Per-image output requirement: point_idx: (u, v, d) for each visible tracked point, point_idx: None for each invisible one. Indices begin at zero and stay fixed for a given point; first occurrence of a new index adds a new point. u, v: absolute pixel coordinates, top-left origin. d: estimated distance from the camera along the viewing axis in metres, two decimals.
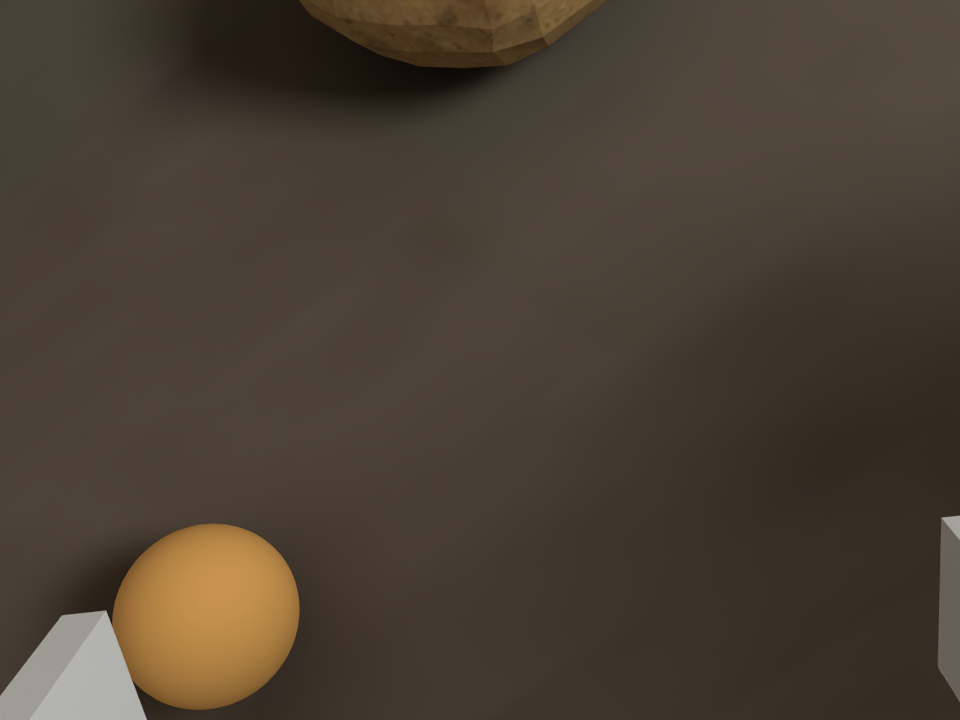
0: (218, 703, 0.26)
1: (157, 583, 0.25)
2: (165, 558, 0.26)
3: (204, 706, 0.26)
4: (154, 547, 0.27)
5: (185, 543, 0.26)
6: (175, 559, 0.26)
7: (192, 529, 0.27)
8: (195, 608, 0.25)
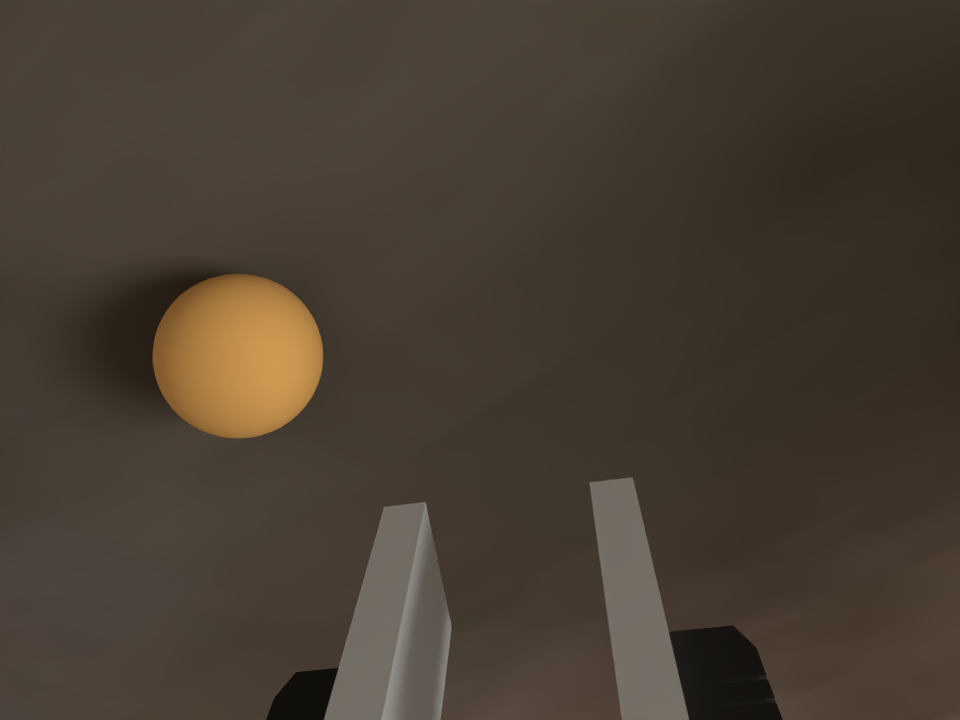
0: None
1: (195, 358, 0.27)
2: (195, 333, 0.27)
3: None
4: (178, 316, 0.28)
5: (209, 315, 0.28)
6: (206, 334, 0.27)
7: (210, 294, 0.28)
8: (237, 379, 0.27)
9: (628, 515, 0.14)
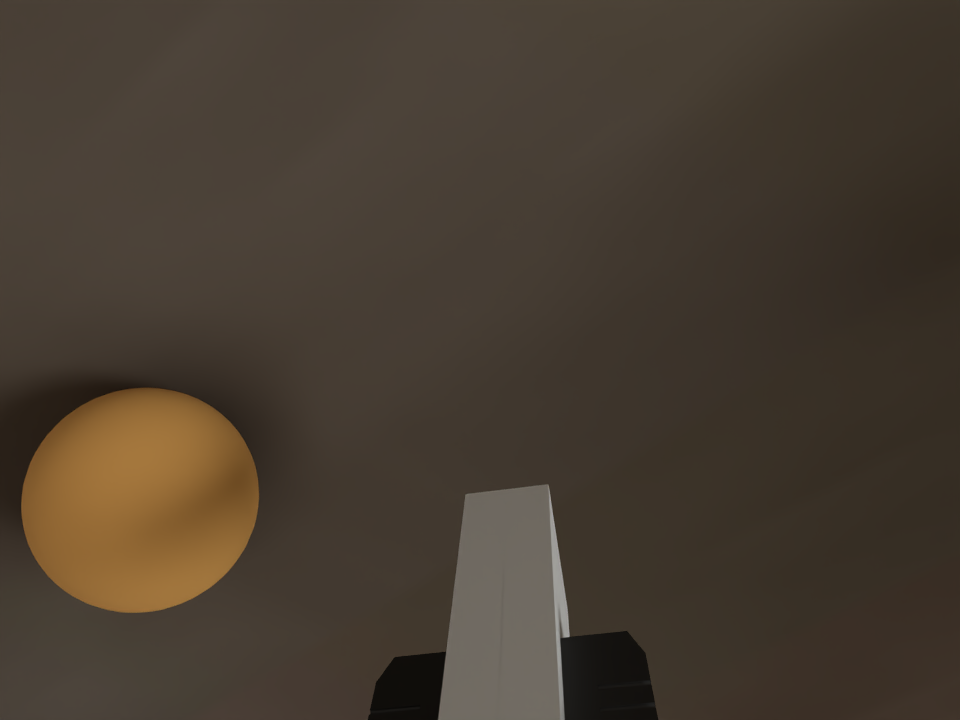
0: None
1: (70, 518, 0.20)
2: (71, 482, 0.20)
3: None
4: (51, 455, 0.20)
5: (92, 456, 0.20)
6: (85, 485, 0.20)
7: (96, 425, 0.20)
8: (129, 547, 0.20)
9: (537, 522, 0.15)
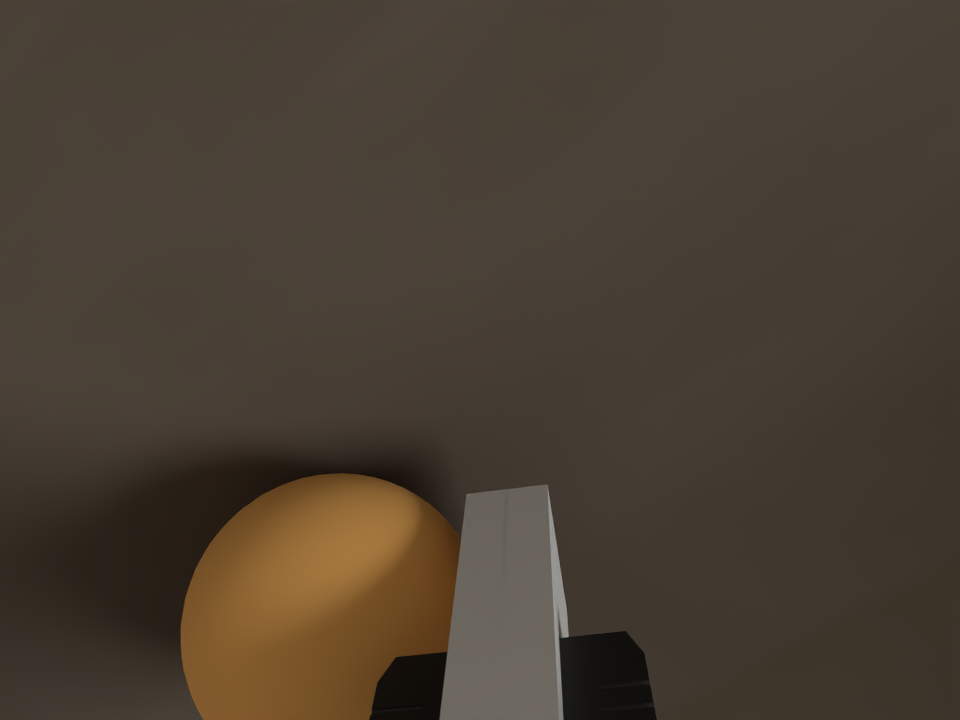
0: None
1: (253, 678, 0.14)
2: (254, 625, 0.14)
3: None
4: (223, 582, 0.15)
5: (280, 587, 0.14)
6: (274, 630, 0.14)
7: (282, 539, 0.15)
8: (336, 718, 0.14)
9: (537, 522, 0.15)
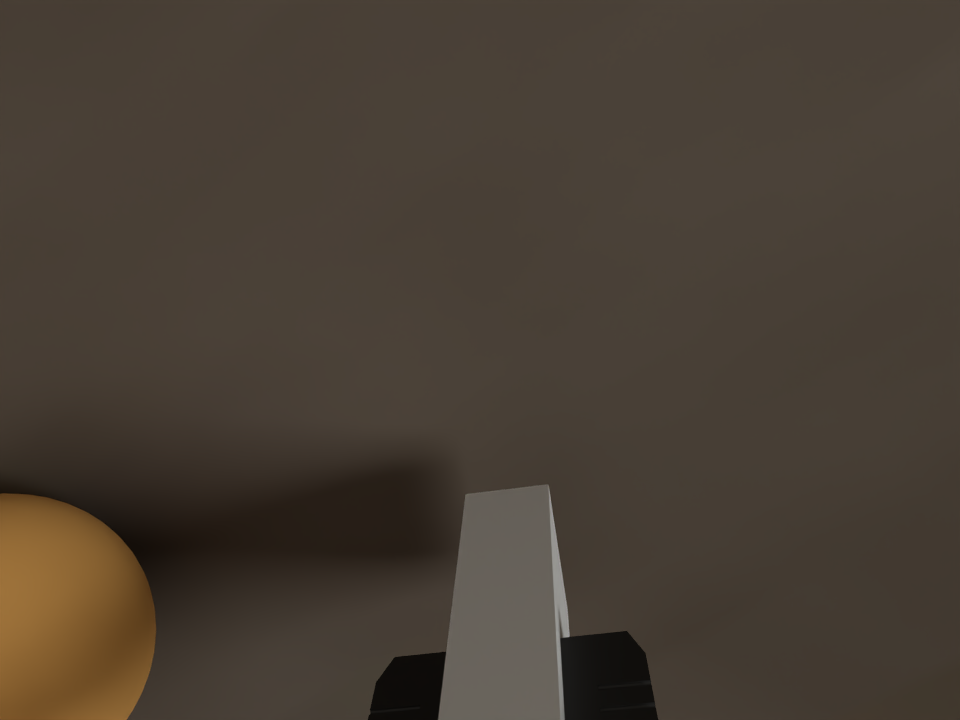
0: None
1: (115, 552, 0.17)
2: (79, 528, 0.16)
3: None
4: (28, 542, 0.15)
5: (50, 508, 0.16)
6: (84, 522, 0.17)
7: None
8: None
9: (538, 522, 0.15)
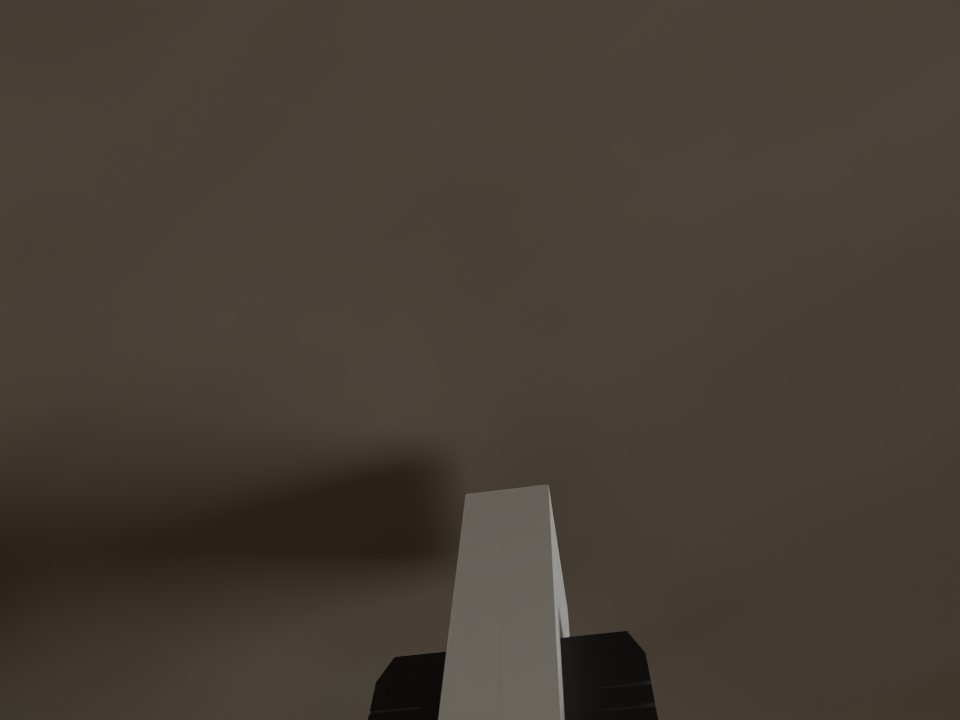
0: None
1: None
2: None
3: None
4: None
5: None
6: None
7: None
8: None
9: (538, 522, 0.15)
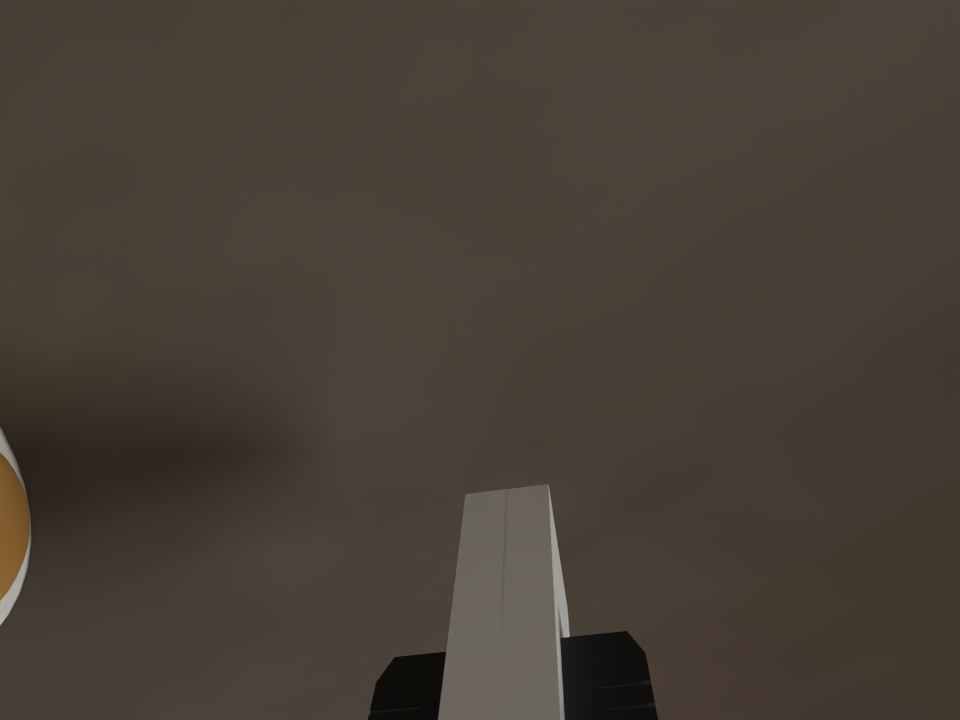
0: None
1: None
2: None
3: None
4: None
5: None
6: None
7: None
8: None
9: (537, 522, 0.15)
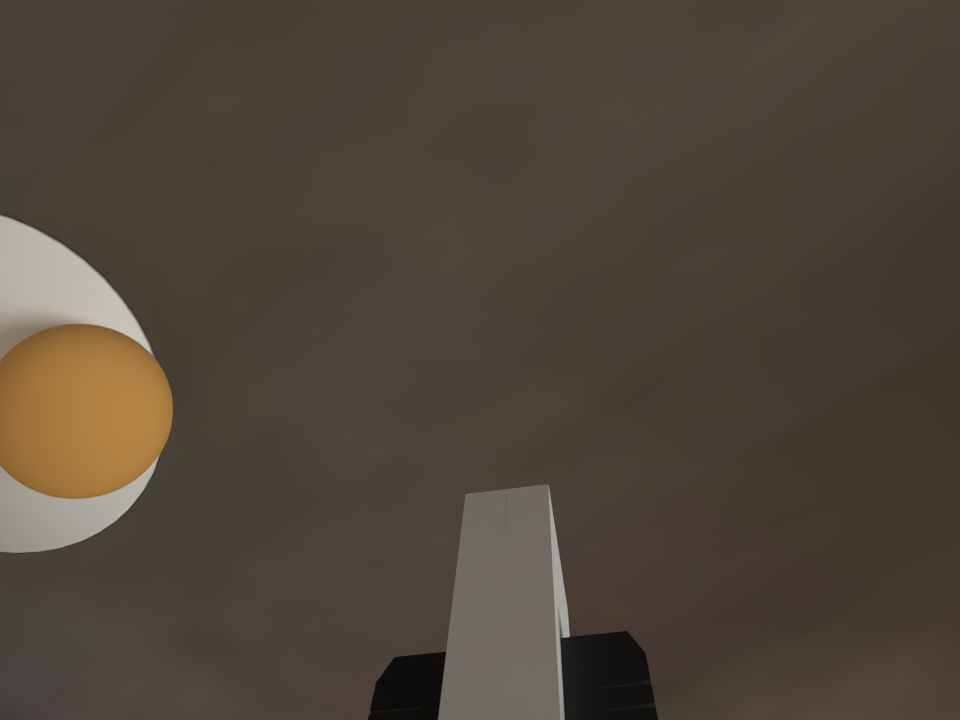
0: (127, 484, 0.28)
1: (51, 406, 0.25)
2: (45, 380, 0.26)
3: (114, 490, 0.28)
4: (18, 369, 0.26)
5: (57, 360, 0.26)
6: (58, 379, 0.26)
7: (50, 342, 0.26)
8: (103, 420, 0.26)
9: (538, 522, 0.15)
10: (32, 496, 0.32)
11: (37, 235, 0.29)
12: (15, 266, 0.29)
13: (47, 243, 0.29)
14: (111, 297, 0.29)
